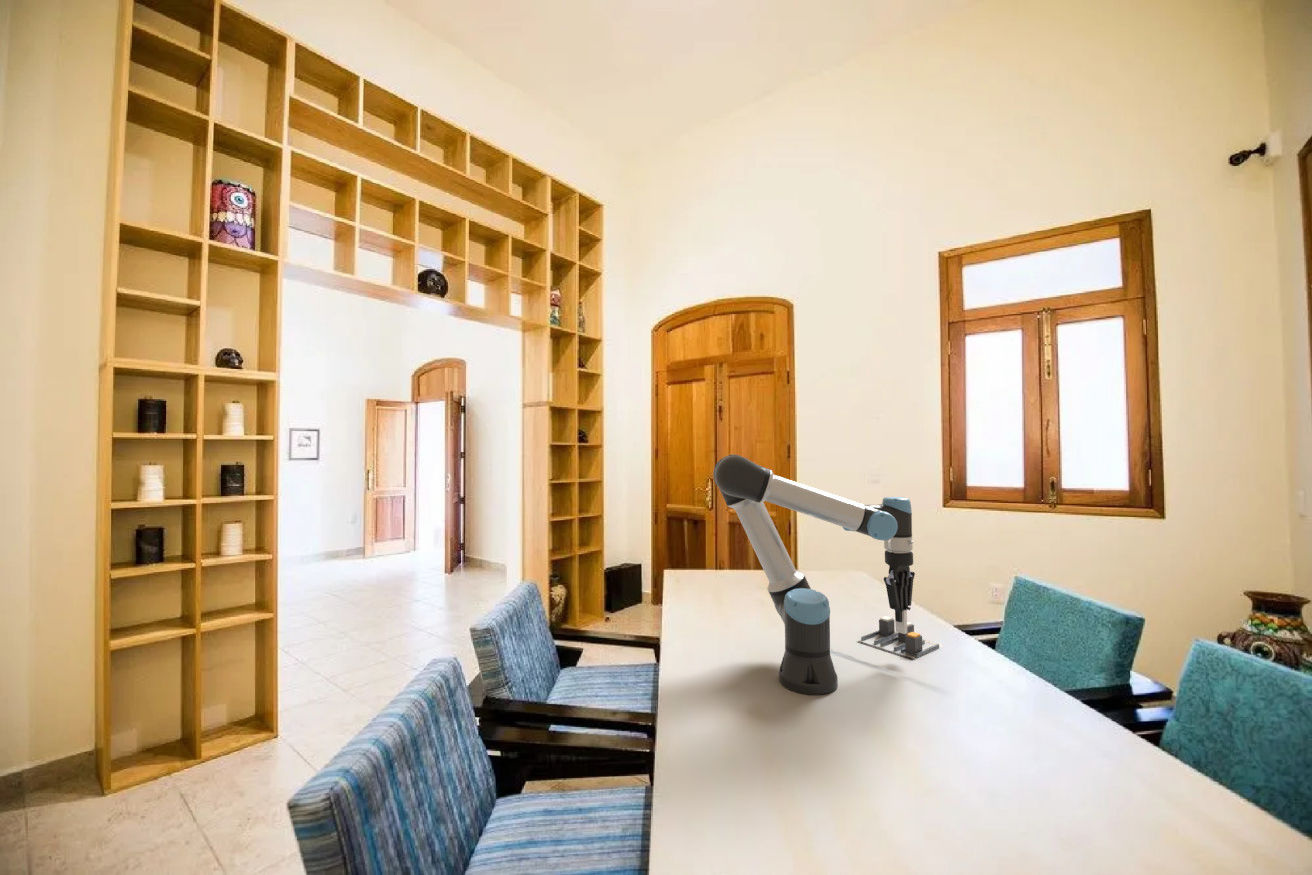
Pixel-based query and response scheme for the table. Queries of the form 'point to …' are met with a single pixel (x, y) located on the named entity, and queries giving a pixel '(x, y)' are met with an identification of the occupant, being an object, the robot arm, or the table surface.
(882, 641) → the panel
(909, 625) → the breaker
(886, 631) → the breaker
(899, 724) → the table surface
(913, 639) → the block
